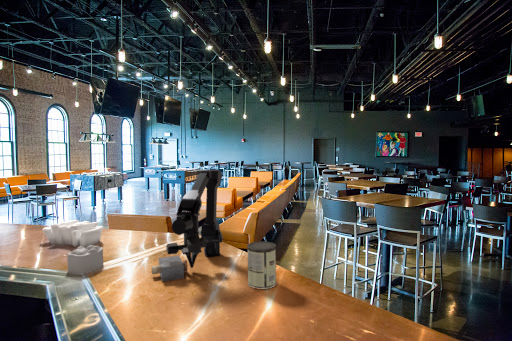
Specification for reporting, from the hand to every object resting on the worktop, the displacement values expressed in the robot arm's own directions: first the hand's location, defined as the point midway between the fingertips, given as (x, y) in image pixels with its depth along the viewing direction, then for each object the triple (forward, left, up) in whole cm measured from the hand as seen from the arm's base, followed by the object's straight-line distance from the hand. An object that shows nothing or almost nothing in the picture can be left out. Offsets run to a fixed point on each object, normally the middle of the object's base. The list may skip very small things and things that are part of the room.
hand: (191, 267), depth 125 cm
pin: (+9, 0, -2) cm, 9 cm away
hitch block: (+8, 0, -2) cm, 8 cm away
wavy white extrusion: (+50, -67, -2) cm, 83 cm away
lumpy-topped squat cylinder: (+39, -21, -2) cm, 44 cm away
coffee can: (-21, +22, -2) cm, 30 cm away
